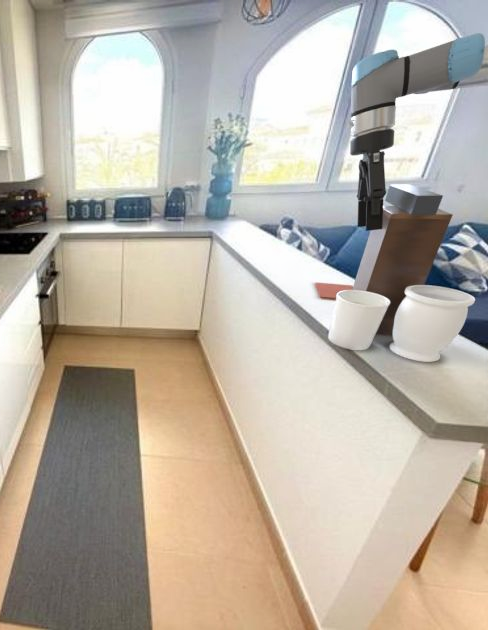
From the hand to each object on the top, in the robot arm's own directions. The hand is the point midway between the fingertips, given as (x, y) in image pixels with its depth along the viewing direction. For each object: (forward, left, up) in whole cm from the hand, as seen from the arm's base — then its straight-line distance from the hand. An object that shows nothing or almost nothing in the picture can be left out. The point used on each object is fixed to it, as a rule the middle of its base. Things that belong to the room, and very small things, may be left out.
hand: (368, 228), depth 83 cm
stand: (-7, -1, -26) cm, 27 cm away
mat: (-3, -24, -26) cm, 35 cm away
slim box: (-7, -5, +4) cm, 10 cm away
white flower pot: (0, +11, -26) cm, 28 cm away
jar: (-12, +12, -26) cm, 31 cm away
